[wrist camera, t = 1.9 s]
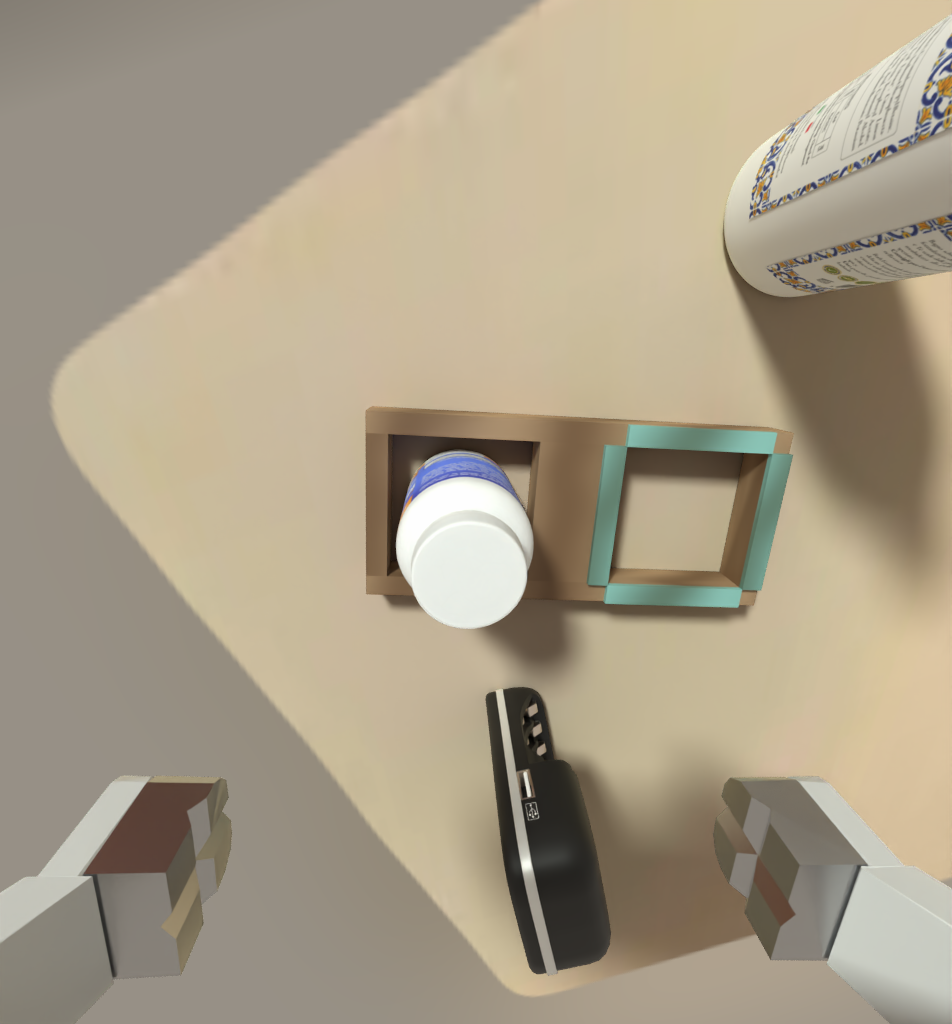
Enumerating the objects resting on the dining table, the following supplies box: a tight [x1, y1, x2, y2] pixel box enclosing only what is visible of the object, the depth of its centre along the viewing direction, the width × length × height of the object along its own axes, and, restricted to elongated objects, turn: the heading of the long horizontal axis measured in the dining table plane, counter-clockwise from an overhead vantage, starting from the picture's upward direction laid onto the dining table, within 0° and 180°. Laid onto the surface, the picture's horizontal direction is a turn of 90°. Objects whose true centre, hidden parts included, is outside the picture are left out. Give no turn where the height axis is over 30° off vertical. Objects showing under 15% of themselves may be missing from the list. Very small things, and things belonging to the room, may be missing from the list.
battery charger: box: [486, 687, 611, 976], centre depth 25 cm, size 7×4×11 cm, turn 12°
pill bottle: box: [396, 449, 534, 629], centre depth 22 cm, size 5×5×10 cm
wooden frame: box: [366, 406, 794, 608], centre depth 26 cm, size 20×9×2 cm, turn 87°
